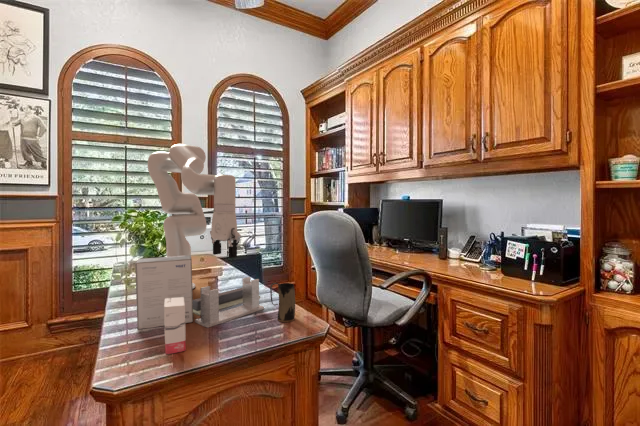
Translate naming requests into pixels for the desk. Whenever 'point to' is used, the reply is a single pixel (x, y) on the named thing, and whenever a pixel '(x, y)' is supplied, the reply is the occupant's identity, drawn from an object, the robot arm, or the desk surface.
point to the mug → (285, 302)
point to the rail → (222, 298)
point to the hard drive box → (162, 288)
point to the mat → (223, 305)
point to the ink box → (174, 325)
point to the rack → (214, 317)
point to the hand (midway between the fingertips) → (224, 255)
